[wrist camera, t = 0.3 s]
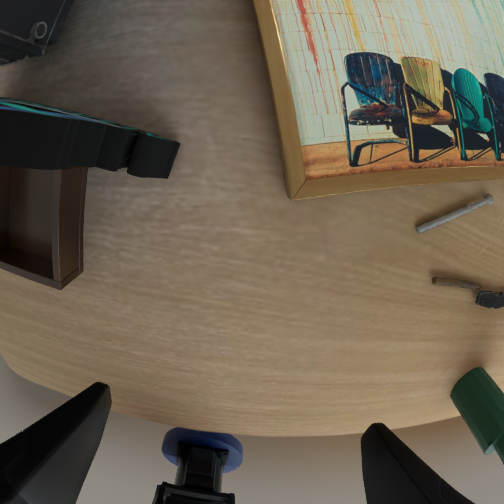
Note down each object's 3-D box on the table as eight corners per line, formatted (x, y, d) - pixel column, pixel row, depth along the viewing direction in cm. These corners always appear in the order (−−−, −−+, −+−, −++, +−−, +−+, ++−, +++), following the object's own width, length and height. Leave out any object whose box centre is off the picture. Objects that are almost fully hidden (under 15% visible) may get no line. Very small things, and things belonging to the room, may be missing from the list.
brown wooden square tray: (83, 271, 21) (61, 290, 18) (9, 249, 20) (-14, 262, 17) (89, 155, 18) (62, 158, 15) (10, 150, 18) (-17, 153, 14)
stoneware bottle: (468, 398, 28) (511, 466, 15) (443, 402, 27) (487, 480, 14) (490, 366, 26) (542, 433, 13) (466, 367, 26) (522, 446, 12)
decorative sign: (182, 143, 18) (20, 137, 4) (169, 177, 19) (5, 247, 5) (5, 97, 16) (-122, 100, 2) (-2, 123, 17) (-129, 139, 2)
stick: (481, 281, 21) (483, 287, 21) (477, 284, 22) (478, 290, 22) (435, 275, 21) (436, 282, 21) (430, 278, 21) (431, 285, 21)
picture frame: (291, 200, 17) (221, -112, 8) (287, 196, 19) (222, -101, 9) (557, 177, 16) (485, -59, 6) (546, 174, 18) (478, -54, 8)
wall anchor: (485, 194, 19) (488, 205, 19) (413, 224, 20) (417, 236, 20) (491, 192, 18) (494, 203, 18) (418, 223, 19) (422, 236, 19)
